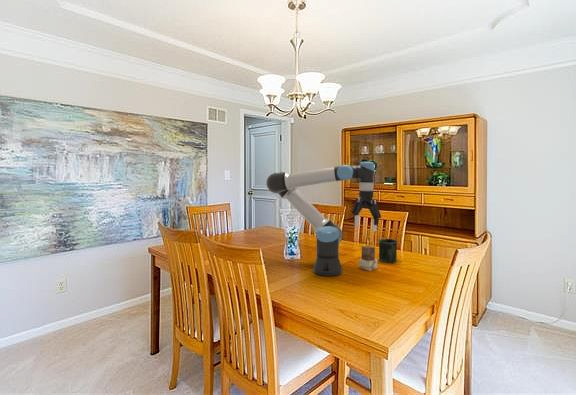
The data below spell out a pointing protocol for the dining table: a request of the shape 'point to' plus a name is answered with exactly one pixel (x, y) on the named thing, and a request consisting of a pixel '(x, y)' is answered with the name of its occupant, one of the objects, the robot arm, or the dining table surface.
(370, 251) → the walnut block
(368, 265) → the pale grey block
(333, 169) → the robot arm
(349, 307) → the dining table surface
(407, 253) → the dining table surface
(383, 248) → the mug
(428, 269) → the dining table surface
